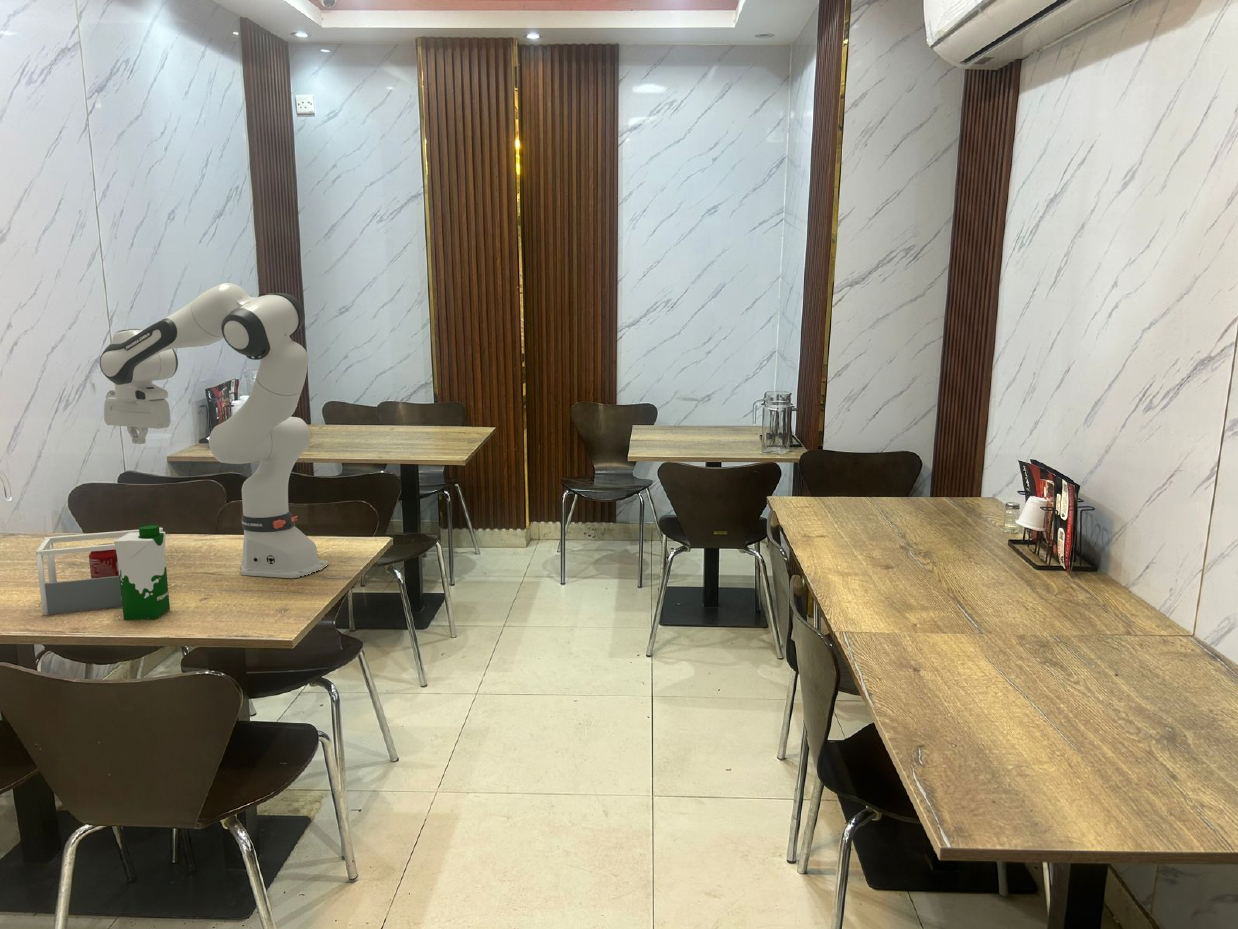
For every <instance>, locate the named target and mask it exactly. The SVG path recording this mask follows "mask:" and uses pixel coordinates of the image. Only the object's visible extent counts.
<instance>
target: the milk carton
mask: <svg viewBox="0 0 1238 929" xmlns="http://www.w3.org/2000/svg"><path fill="white" fill-rule="evenodd" d="M159 528H160V525H159V524H147V525H142V526H139V527H138V530H139V532H136V533H128V534H126V535H124V536H123V537H118V538H116V539H115V540H114V541H113V544H115V548H116V553H117V559H118V569H119V579H120V590H121V600H122V606H121V608H122V616H123V621H130V620H131V621H133V620H134V621H136V620H138V621H139V620H141V621H142V620H157V619H159V618H160V617H161V616H163V615H164V614H165V613H167V611H169V610H170V609H171V606H170V604H171V603H170V594H169V593H170V592H169V583H168V582H169V580H168V572H167V571H168V570H167V561H166V560H167V558H166V533H167V532H166V531H163V532H160V529H159Z"/></svg>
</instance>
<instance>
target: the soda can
mask: <svg viewBox="0 0 1238 929" xmlns="http://www.w3.org/2000/svg"><path fill="white" fill-rule="evenodd" d="M108 544H114V542H111V543H102V544H101V543H100V544H99V545H108ZM97 545H98V544H96V545H95V546H97ZM88 562H89V571H90V572H89V573H90V579H93V578H103V577H113V576H119V569H118V559H117V553H116V549H113V550H102V551H90V553H89V554H88Z"/></svg>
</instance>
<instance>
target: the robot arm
mask: <svg viewBox="0 0 1238 929" xmlns="http://www.w3.org/2000/svg"><path fill="white" fill-rule="evenodd" d="M305 320H306V315H305V310H304V307H303V305H302V303H301V302H300V301H299V299H297V298H296V297H295V296H294V295H292V294H289V293H284V292H275V293H274V292H272V293H271V292H269V293H268V292H260V293H259V294H258V296H256V297H254V296H253V297H252V296H250V295H249V294H248V293H247V292H246V290H245V289H244V288H243V287H242V286H239V285H237V284H236V283H231V282H223V283H220V284H217V285H215V286H213V287H211V288H210V289H208V290H206V291H204V292H203V293H201V294H200V295H198V296H197V297H196V298H194V299H193V300H191V301H190V302H189V303H187V304H186V305H184V306H183V307H181V308H180V309H178V310H177V311H175V312H173V313H171V314H170V315H168V316H166V317H164V318H163V319H161V320H159V321H157V322H155V323H153V324H152V325H150V326H148V327H146V328H144V329H141V328H129V329H121V330H119V331H116V332H114V333H113V335H112V340H111V343H110V344H108V346H106V347H105V348H104V350H103V352H102V353H101V355H100V359H99V368H100V371H101V372H102V374H103V375H104V377H106V378H107V379H108V380H109V381H110V382H112V383H113V384H114V390H109V391H108V392H107V393H106V394H105V400H104V405H103V418H104V422H105V424H106V425H107V426H115V427H127V429H126V431H127V432H128V434H129V436H130V437H131V443H132V444H135V445H144V444H146V440H147V439H146V436H147V434H148V432H149V429H158V430H159V429H160V430H161V429H165V428H169V427H170V425H171V422H172V421H171V411H170V404H169V402H168V400H166V399H168V398H169V391H168V390H166V389H164V388H163V387H160V386H158V385H156V384H155V383H153V382H154V381H164V380H168V379H171V378H172V377H173V376H174V375H175V374H176V373H177V371H178V367H179V359H178V358H179V357H178V355H177V352H176V351H175V349H182V348H193V347H194V348H196V347H197V348H198V347H206V346H209V345H213V344H215V343H217V342H220V341H222V340H223V339H224V341H225V342H226V343H227V345H228V346H229V347H231V348H232V349H233V350H234V351H236V352H237V353H239V354H240V355H243V356H245V357H246V358H247V359H250V360H252V361H253V360H254V361H256V360H257V361H258V360H260V361H259V362H260V363H259V366H258V370H257V372H256V376H255V379H254V382H253V385H252V388H251V390H250V393H249V396H248V397H247V399H246V401H244V403H243V404H242V406H240V408H239V409H238V410H237V411H236V412H235V413H234V414H233V415H231V416H230V417H229V418H228V419H226V420H225V421H223V422H222V423H219V424H217V425H216V426H214V427H213V428H212V430H211V431H210V434H209V437H208V447H209V450H210V452H211V454H212V456H213V458H215V459H216V460H217V461H218V462H219V463H221V464H230V465H231V464H232V465H234V464H235V465H243V464H250V463H257V462H259V466H258V467H257V469H256V471H254V473H253V474H252V475H251V476H249V477H248V478H246V479H245V480H244V482H243V484H242V486H241V499H242V500H241V501H242V502H241V503H242V514H241V528H242V529H243V543H242V558H241V562H240V563H241V564H240V566H239V567H240V575H242V576H251V577H253V576H254V577H264V578H265V577H267V578H279V579H280V578H282V579H284V578H285V579H296V578H301V577H300V576H302V577H304V576H303V575H306V576H309V575H312V574H313V573H312V572H315V573H317V572H316V571H318V570H319V569H321V568H324V567H325V566H326V565H328V566H329V561H328V560H325V559H321V558H319V553H318V552H319V551H318V547H317V545H316V543H315V542H314V541H313V540H312V539H310V538H309V537H308V536H307V535H305V533H303V531H301V530H300V529H299V528H297V526H296V523H295V522H296V521H298V519H297V518H298V515H295V516H292V513H291V511H290V510H289V481H290V477H291V473H292V470H293V468H294V466H295V464H296V462H297V461H298V459H299V458H300V457H301V456H302V454H304V453H305V452H306V451H307V450H308V448H309V447H310V446H309V445H310V443H311V439H312V437H311V431H310V428H309V426H308V424H307V423H306V421H305V420H303V419H302V418H300V417H296V416H292V415H293V414H294V413H295V412H296V409H297V406H298V402H299V399H300V397H301V395H302V392H303V389H304V385H305V382H306V377H307V373H308V363H309V361H308V360H309V355H308V352H307V351H306V348H304V347H303V346H302V345H301V344H300V343H298V342H296V341H293V340H292V338H291V337H290V336H292V335H295V334H296V333H297V332H299V330H300V329H301V328H302V326H303V324H304V323H305ZM324 569H325V568H324ZM318 572H319V571H318ZM311 573H312V574H311ZM308 574H309V575H308Z"/></svg>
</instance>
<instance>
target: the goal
mask: <svg viewBox="0 0 1238 929" xmlns="http://www.w3.org/2000/svg"><path fill="white" fill-rule="evenodd" d="M159 529H160V532H164V530H163V529H164V528H163V527H159ZM136 532H139V529H129V530H119V531H107V532H93V533H83V534H71V535H57V536H48V537H46V536H45V537H44V538H43V542H42V543H41V544H40V545H39V547H38V548H37V549H36V551H35V559H36V567H37V576H38V583H39V592H40V604H41V610H42V615H43V616H49V615H56V614H65V613H74V612H83V611H84V612H85V611H92V610H93V611H94V610H102V609H109V608H118V607H121V608H122V600H121V590H120V579H119V576H113V577H103V578H93V579H91V578H85V579H84V578H83V579H73V580H65V581H58V579H57V578H58V577H57V569H56V560H55V558H56V557H55V555H65V554H67V555H68V554H78V553H87V552H88V553H89V552H90V553H91V551H102V550H113V549H116V548H115V544H114V543H113V544H108V545H100V544H96V545H97V546H96V545H88V546H77V547H64V548H54V544H57V543H67V542H68V543H69V542H82V541H91V540H103V539H118V538H121V537H123V536H124V535H126V534H128V533H136ZM43 556H44V557H45V559H46V568H47V577H48V582H46V574H45V573H46V572H45V566H44V557H43Z"/></svg>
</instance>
